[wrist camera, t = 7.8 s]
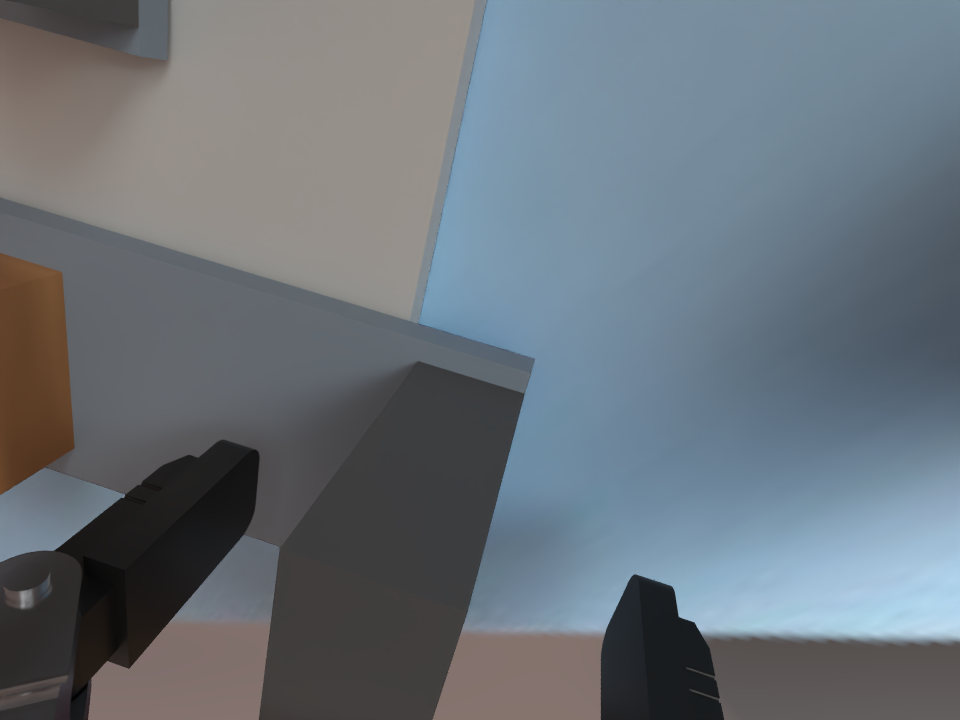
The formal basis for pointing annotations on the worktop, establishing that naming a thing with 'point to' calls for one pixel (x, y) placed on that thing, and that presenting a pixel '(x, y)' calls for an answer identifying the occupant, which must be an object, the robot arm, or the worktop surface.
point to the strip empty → (99, 22)
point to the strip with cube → (296, 448)
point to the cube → (32, 371)
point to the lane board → (254, 137)
